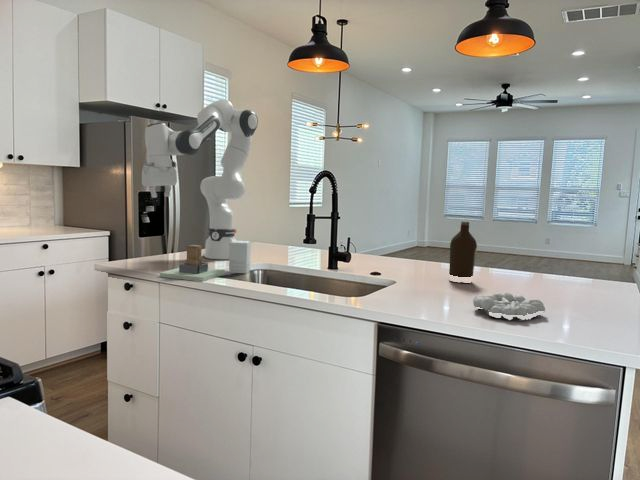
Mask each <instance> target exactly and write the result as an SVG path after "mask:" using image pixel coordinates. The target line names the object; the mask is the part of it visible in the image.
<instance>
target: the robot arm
mask: <svg viewBox="0 0 640 480" xmlns="http://www.w3.org/2000/svg"><path fill="white" fill-rule="evenodd" d="M196 118H197V119H196V120H197V123H198V126H196V127H195V128H193V129H191V128H190V129H185V130H180V131H179V130H178V131H175V130H173V129H171V128H170V127H168V126H167V125H166V123H165V122H161V121H160V122H155V123H150V124H147V126H146V127H145V132H144V135H145V137H144V138H145V147H146V150H147V151H146V162H145V163H144V164H143V167H142V171H141V184H142V187H148V191H149V192H150V195H151V198H154V199H155V198H158V193H157V191H156V190H155V189H156V187H164V188H165V192H164V193H163V194H164V197H165V198H166V197H168V198H169V197H171V190H172V186H176V185H177V183H178V178H177V175H178V174H177V170H176V169H177V162H176V161H174V160H172V158H170V156H184V155H185V156H187V155H188V156H193V155H196V154H197V153H199V151H200V149H201V148H202V146H203V144H204V143H205V142H206V141H207V140H208V139H209V138H210V137H211V136H212V135H214V134H215V133H216V132H217V131H218V130H219V131H221V132H225V133H231V137H230V139H229V142H228V144H226V148H225V151H224V153H223V155H222V157H221V159H220V165H221V166H222V169H223V170H222V174H221V176H220V175H219V176H218V175H212V176H208V177H205V178H203V179H202V180H201V182H200V185H199V187H200V188H199V189H200V192H201V194H202V195H203V196H204V198H205V199H206V203H207V205H208V206H207V207H208V211H209V228H208V231H207V234H208V238H207V239H206V240H205V247H204V253H202V256H203V257H205V258H206V259H210V260H229V250H230V244H229V243H230V242H232V241H234V240H235V241H238V240H237V238H236V237H235V234H237V229H236V228H234V212H233V210H232V209H231V207H230V206H229V204H228V201H233V200H234V201H235V200H236V201H237V200H239V199H241V198H243V196H244V195H245V193H246V185H245V182H244V181H243V171H244V168H245V165H246V162H247V160H248V157H249V154H250V152H251V147H252V143H253V138H252V136H253V135H254V134H255V132H256V130H257V128H258V124H259V120H258V119H259V118H258V116H257V114H256V113H255V112H254V111H252V110H250V109H239V108H236V109H235V108H234V106H233V103H232V102H231V101H229V100H228V99H225V98H222V99H218V100H216V101H214V102H211V103H209V104H207V105H206V106H204V107H203V108H202V109H201V110H200V111H199V112H198V113H197V117H196Z"/></svg>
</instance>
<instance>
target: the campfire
mask: <svg viewBox="0 0 640 480" xmlns="http://www.w3.org/2000/svg"><path fill="white" fill-rule="evenodd" d="M472 301H473V307H474V306H475V307H480V308H483V309H484V310H483V311H486V310H489V311H488V312H492V313H502V314H506V315H523V316H525V315H527V313H528V314H533V313H536V312H538V311H544V312H545V311H546V307H545V305H544V303H543V302H542V301H541V300H540V299H535V298H534V299H533V298H532V299H529V300H527V299H526V298H525V297H524V296H523V295H521V294H519V295H515V296H514V295H513V294H512V293H509V292H506V293H504V294H502V293H500V292H496V293H494V294H492V295H483V294H479V295H476V296H475V297H474V298H473V299H472ZM520 304H521V305H520ZM475 307H474V308H475Z"/></svg>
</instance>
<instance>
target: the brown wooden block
mask: <svg viewBox="0 0 640 480" xmlns="http://www.w3.org/2000/svg"><path fill="white" fill-rule="evenodd" d="M186 262H187V265H195V266H198V265H201V262H202V245H199V244H190V245H186Z"/></svg>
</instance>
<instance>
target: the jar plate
mask: <svg viewBox="0 0 640 480" xmlns="http://www.w3.org/2000/svg"><path fill="white" fill-rule="evenodd" d="M222 275H226V269H221V268H220V269H219V268H218V269H217V268H209V267H208V271H206V272H203V273H200V274H192V273H182V272H179V267H176V268H173V269H170V270H169V269H168V270H165V271H161V272H160V273H159V277H160V278H169V279H176V280H177V279H178V280H186V281H188V280H189V281H195V282H205V280H206V281H208V279H209V280H212V279H214V278H217V277H220V276H222ZM211 278H212V279H211Z"/></svg>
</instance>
